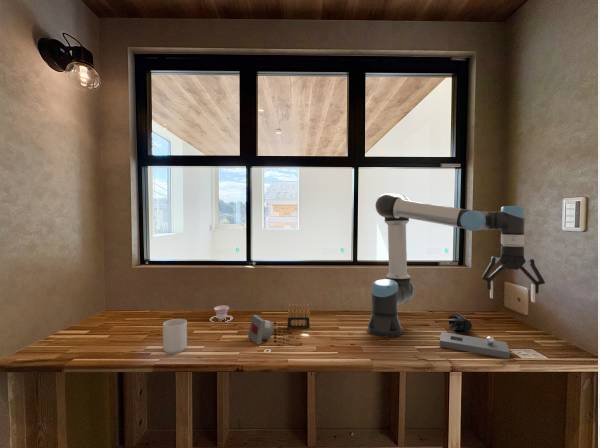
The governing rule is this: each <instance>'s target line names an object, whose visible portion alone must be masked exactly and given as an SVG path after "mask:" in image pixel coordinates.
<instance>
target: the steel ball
mask: <svg viewBox="0 0 600 448" xmlns="http://www.w3.org/2000/svg"><path fill="white" fill-rule="evenodd" d="M485 339H486V342H487V343H488V344H494V342H495V340H496V339H495V338H494V337H492V336H487V337H486V338H485Z"/></svg>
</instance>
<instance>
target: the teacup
mask: <svg viewBox="0 0 600 448" xmlns="http://www.w3.org/2000/svg"><path fill="white" fill-rule="evenodd" d="M229 309H230V307H229V305H217V306H215V307H214V308H213V310H214V311H215V314H216V315H214V316H211V317H210V318H209V322H210V323H214V324H215V323H216V324H217V323H218V324H221V323H227V322H228V323H229V322H230V321H233V319H234V317H233V316H232V315H231V314H230V315H229V314H228V311H229ZM214 317H216V318H218V319H217V320H218V321H222V320H224V319H225V320H226V317H230V320H227V321H225V322H214V321H212V319H213V318H214Z"/></svg>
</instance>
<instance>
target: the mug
mask: <svg viewBox="0 0 600 448" xmlns="http://www.w3.org/2000/svg"><path fill="white" fill-rule="evenodd" d="M187 347H188V320H187V319H184V318H174V319H173V318H172V319H168V320H166V321H164V322H163V323H162V350H163V351H164V353H166V354H168V355H175V354H180V353H182V352H183V351H185V350H186V348H187Z"/></svg>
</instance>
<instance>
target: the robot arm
mask: <svg viewBox="0 0 600 448" xmlns="http://www.w3.org/2000/svg"><path fill="white" fill-rule="evenodd" d="M374 206H375V211H376V212H377V213H378V215H379V216H380V217H384V223H385V224H386V225H387V240H388V241H387V243H388V244H387V245H388V251H387V252H388V273H386V275H385V278H383V279H377V280H375V281H373V282H372V286H371V287H372V288H371V316H370V318H369V321H368V324H367V331H368V333H369V334H372V335H374V336H377V337H381V338H395V337H399V336H401V335H402V332H403V331H402V325H401V322H400V319H399V317H398V316H399V315H398V313H399V309H398V308H399V305H401V304H405V303H407V302H409V301H410V300H411V299H412V298H413V296H414V294H415V286H414V284H413V283H412V281H411V275H410V274H408V265H407V264H408V263H407V258H408V257H407V256H408V255H407V224H408V223H409V222H410V219H411V220H417V221H421V222H426V223H427V222H429V223H433V224H438V225H444V226H449V227H454V228H459V229H464V230H466V231H470V232H477V231H484V230H485V231H500V244H501V246H500V257H495V256H491V258H490V262H489V264H488V266H487V268H486V269H485V271H484V273H483V274H482V276H481V278H482V280H484V281H486V288H487V290H489V298H490V299H494V281H493V280H494V279H495V278H496V277H497V276H498V275H499V274H501V272H502V271H504V270H505V269H507V270H515V271H517V270H520V271H522V272H523V274H524V275H525V276H526V277H527V278H528V279H529V280H530V281H531V282H532V283H531V284H530V285H531V286H530V287H531V288H530V302H532V303H536V294H539V292H540V291H539V287H540V285H545V284H546V282H545V280H544V278H543V276H542V275H541V273H540V271H539V270H538V268H537V266H536V264H535V262H536V261H535V260H534V259H533V258H531V257H530V258H525V247H524V245H525V208H524V207H523V206H522V205H506V206H501V207H500V210H498V211H480V210H474V209H473V210H472V209H465V208H459V207H452V206H445V205H438V204H432V203H424V202H419V201H412V200H410V199H409V198H408V196H405V195H403V194H399V193H398V194H396V193H384V194H381V195H380V196H379V197H378V198H377V199H376V201H375V205H374ZM498 262H500V263H501V265H499V266H498V267H497V268H496V270H494V271H493V272H492V273H491V271H492V269H493V268H494V266H495V265H496V264H497V263H498ZM525 264H528V265H529V267H530V268H531V270H532V271H533V274H534V275H535V276H536V278H537V279H536V278H535V277H534V276H532V275H531V273H530V272H529V271H528V270H527V269H526V268H525V266H523V265H525ZM490 273H491V274H490ZM489 274H490V275H489Z"/></svg>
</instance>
